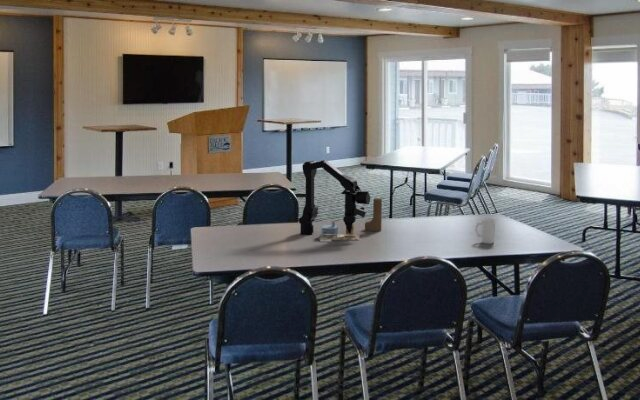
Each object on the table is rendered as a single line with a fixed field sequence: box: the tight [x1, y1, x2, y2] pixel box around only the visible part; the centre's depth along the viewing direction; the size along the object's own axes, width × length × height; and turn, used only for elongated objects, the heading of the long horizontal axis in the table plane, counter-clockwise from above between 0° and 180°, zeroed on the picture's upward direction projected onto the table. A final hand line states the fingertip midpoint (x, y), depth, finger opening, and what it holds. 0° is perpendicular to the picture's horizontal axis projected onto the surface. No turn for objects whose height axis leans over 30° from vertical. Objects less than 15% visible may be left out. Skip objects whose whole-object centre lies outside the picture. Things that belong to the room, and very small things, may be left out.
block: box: [345, 223, 355, 235], centre depth 384 cm, size 4×4×5 cm
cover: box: [320, 220, 339, 237], centre depth 385 cm, size 8×8×8 cm
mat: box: [319, 238, 333, 243], centre depth 377 cm, size 6×5×1 cm
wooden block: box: [364, 197, 383, 232], centre depth 405 cm, size 9×4×18 cm, turn 82°
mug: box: [474, 218, 496, 245], centre depth 374 cm, size 10×7×12 cm, turn 86°
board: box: [318, 233, 360, 241], centre depth 385 cm, size 21×10×1 cm, turn 85°
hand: (349, 232), depth 384 cm, fingers closed on block, 4 cm apart
